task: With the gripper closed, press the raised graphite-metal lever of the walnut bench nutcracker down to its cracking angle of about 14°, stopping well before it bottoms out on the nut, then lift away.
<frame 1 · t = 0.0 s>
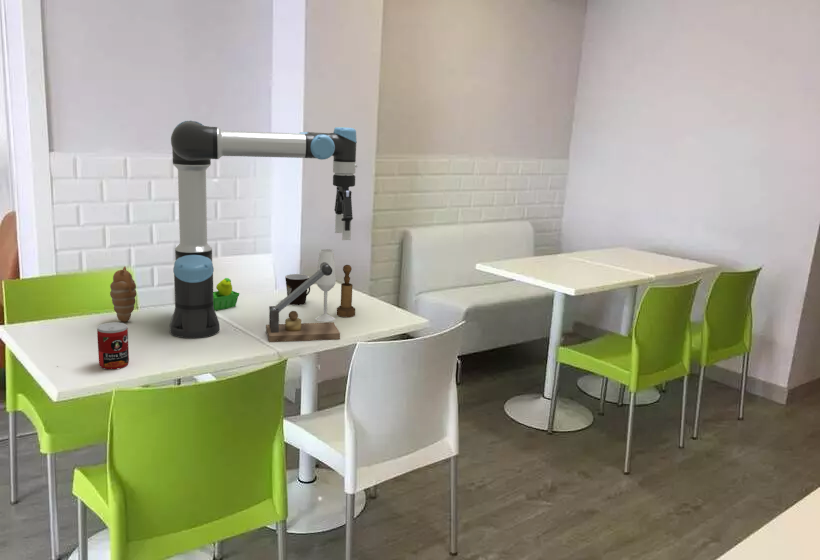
hand: (342, 236, 250), 28 cm above the table, fingers open, 13 cm apart
champagne flute: (325, 319, 251), on the table
nutcracker base: (302, 334, 232), on the table
brown ridged tall ovoid: (124, 322, 237), on the table
canned food: (114, 365, 199), on the table
fruit basket: (221, 308, 259), on the table
coffee mug: (297, 304, 268), on the table
lever: (300, 289, 229), point 15 cm above the table, hinge at 40.0°
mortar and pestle: (345, 315, 257), on the table
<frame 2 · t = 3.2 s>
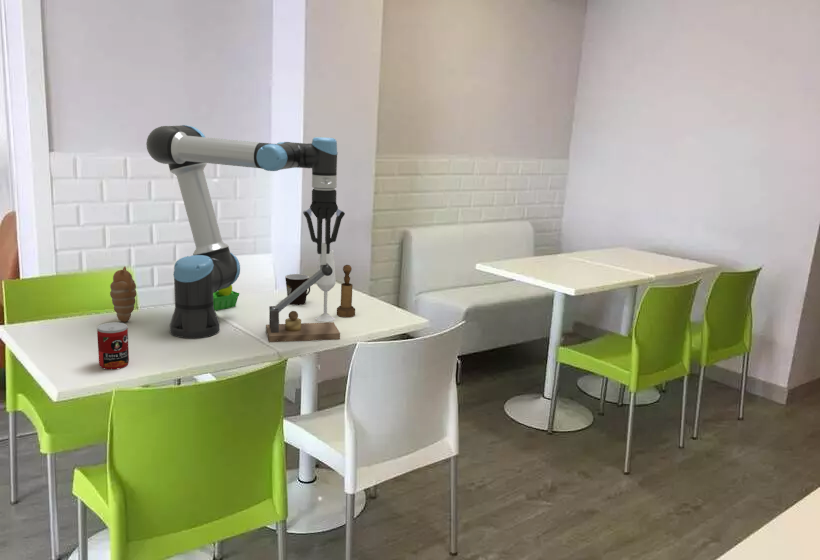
hand: (323, 263, 229), 23 cm above the table, fingers closed
lever: (300, 289, 229), point 15 cm above the table, hinge at 39.7°, touching gripper
everything else where it was.
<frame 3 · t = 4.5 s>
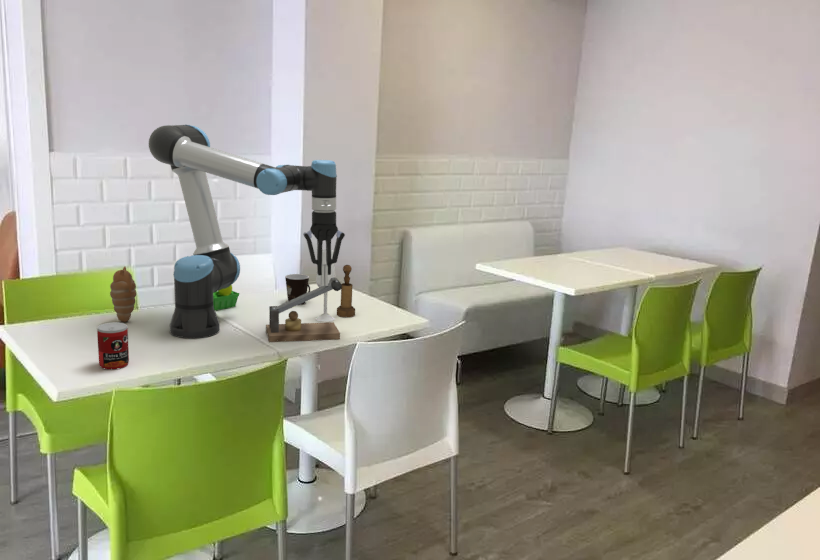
hand: (324, 284, 230), 16 cm above the table, fingers closed
lever: (305, 297, 230), point 12 cm above the table, hinge at 23.7°, touching gripper
everything else where it was.
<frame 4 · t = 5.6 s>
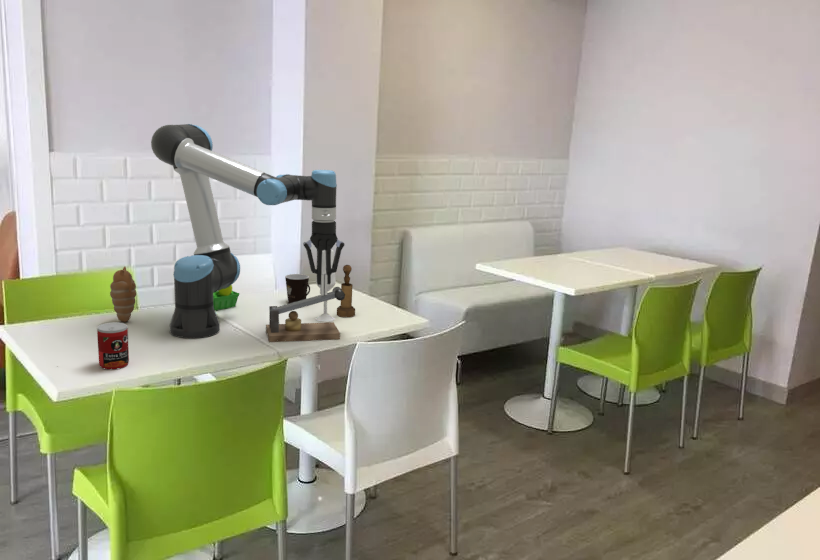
hand: (323, 294, 231), 13 cm above the table, fingers closed
lever: (307, 302, 230), point 11 cm above the table, hinge at 14.8°, touching gripper
everything else where it was.
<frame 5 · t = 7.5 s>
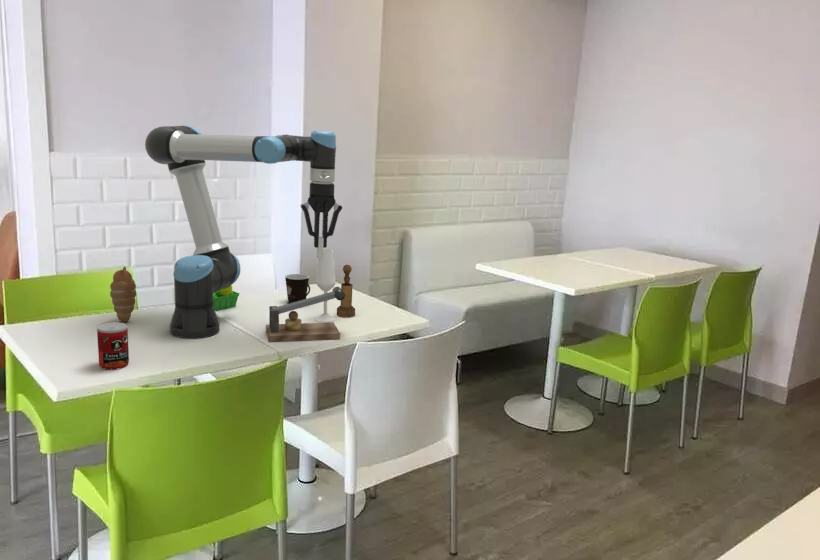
hand: (319, 257, 228), 25 cm above the table, fingers closed
lever: (307, 302, 230), point 11 cm above the table, hinge at 14.8°
everything else where it was.
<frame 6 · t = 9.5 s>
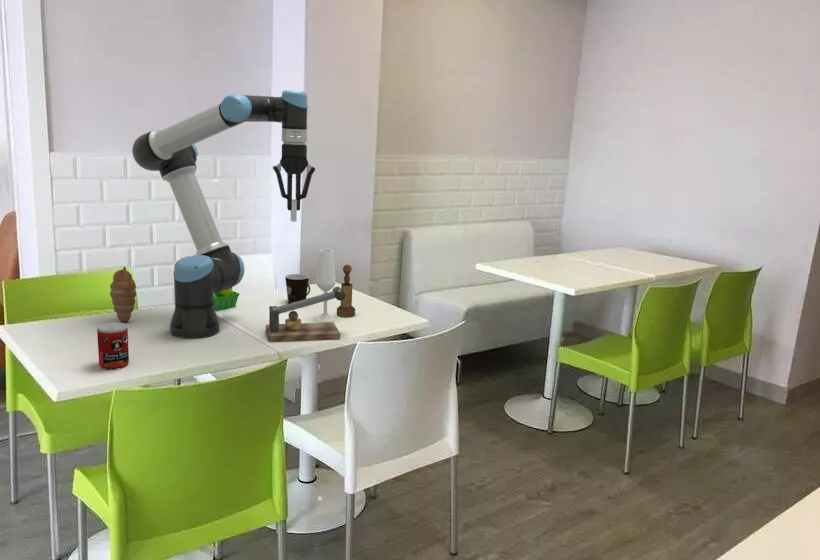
hand: (293, 220, 225), 36 cm above the table, fingers closed
nothing on the table moved.
at the end: lever at +15° (first picture: +40°); champagne flute tilted 0° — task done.
